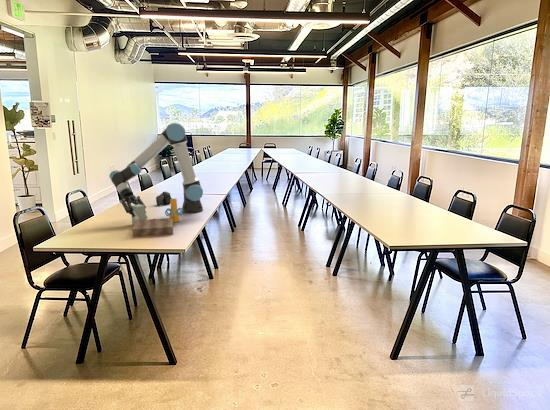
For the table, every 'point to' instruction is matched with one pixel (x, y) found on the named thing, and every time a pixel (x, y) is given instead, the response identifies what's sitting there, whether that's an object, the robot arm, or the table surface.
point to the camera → (163, 198)
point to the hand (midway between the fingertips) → (142, 219)
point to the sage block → (139, 212)
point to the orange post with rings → (174, 210)
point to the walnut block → (153, 227)
